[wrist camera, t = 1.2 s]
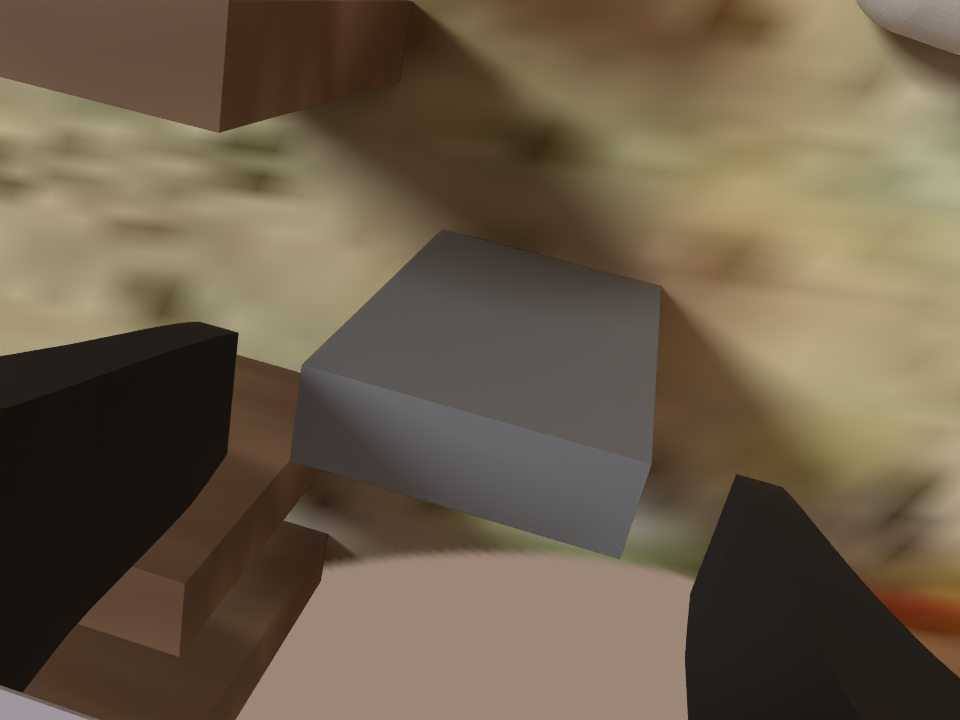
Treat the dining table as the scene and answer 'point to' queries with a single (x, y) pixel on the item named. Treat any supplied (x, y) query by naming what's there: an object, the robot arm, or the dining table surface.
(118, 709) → the domino
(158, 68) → the domino
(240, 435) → the domino
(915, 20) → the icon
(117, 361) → the robot arm
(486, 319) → the loose domino
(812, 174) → the dining table surface
